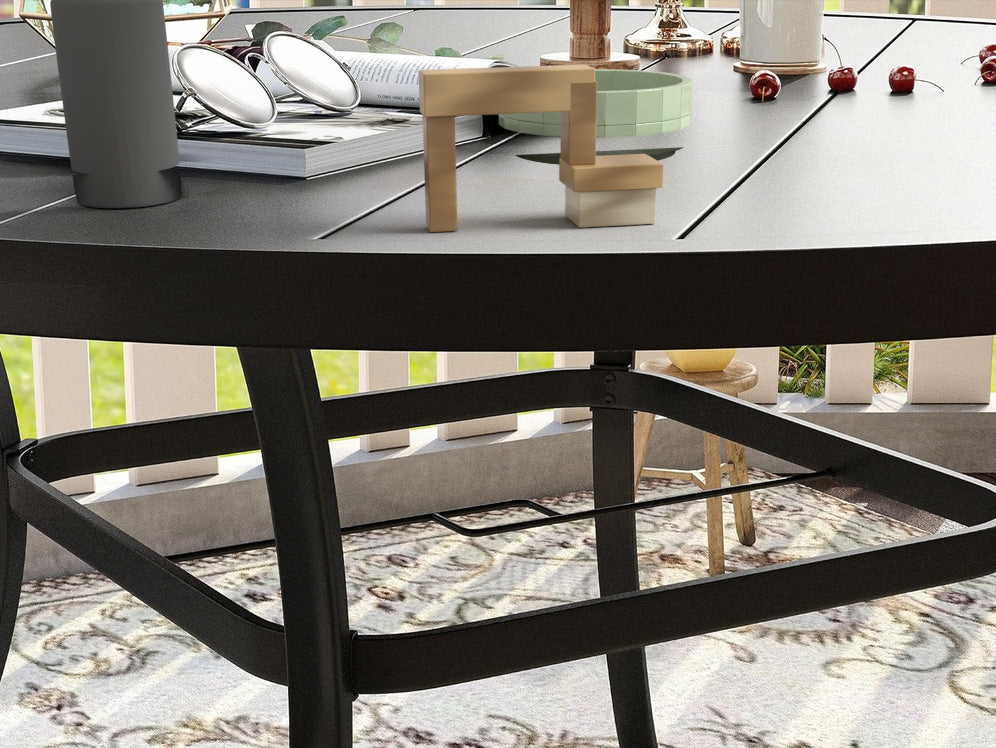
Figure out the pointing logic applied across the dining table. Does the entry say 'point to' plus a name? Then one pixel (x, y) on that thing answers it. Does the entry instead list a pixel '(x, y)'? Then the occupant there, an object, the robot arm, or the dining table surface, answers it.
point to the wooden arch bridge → (587, 178)
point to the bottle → (117, 101)
